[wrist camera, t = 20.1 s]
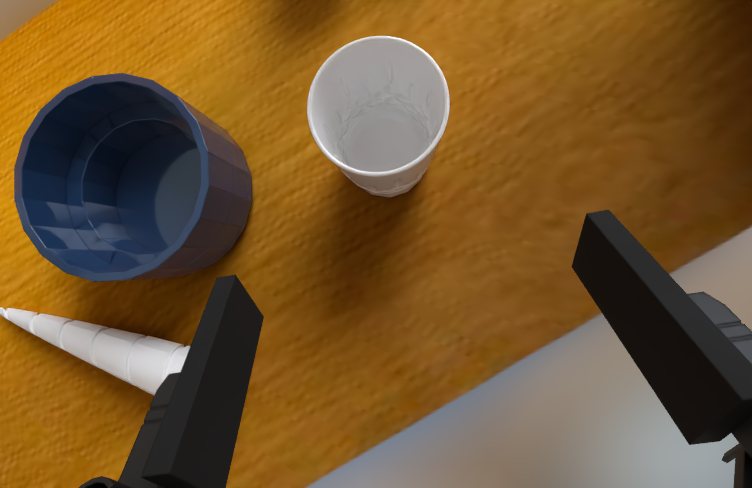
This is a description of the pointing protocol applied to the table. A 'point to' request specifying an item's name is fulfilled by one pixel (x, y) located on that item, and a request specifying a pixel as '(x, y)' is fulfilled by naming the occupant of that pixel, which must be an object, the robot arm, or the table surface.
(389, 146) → the white cup
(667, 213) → the table surface
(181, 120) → the navy blue bowl
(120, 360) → the unicorn horn
